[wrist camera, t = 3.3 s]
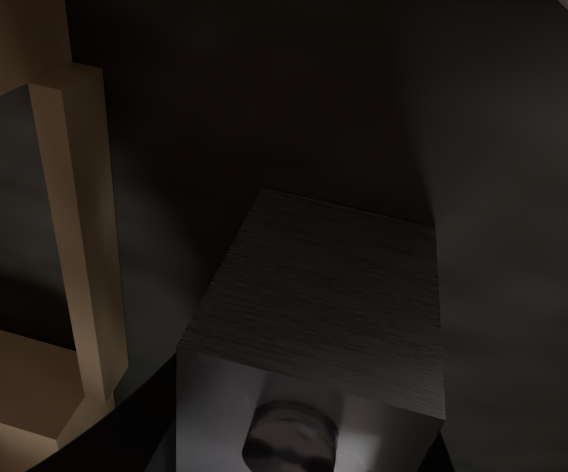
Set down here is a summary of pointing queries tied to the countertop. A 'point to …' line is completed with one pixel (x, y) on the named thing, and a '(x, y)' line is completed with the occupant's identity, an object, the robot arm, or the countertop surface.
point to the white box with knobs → (314, 345)
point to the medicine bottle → (564, 3)
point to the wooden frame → (63, 243)
